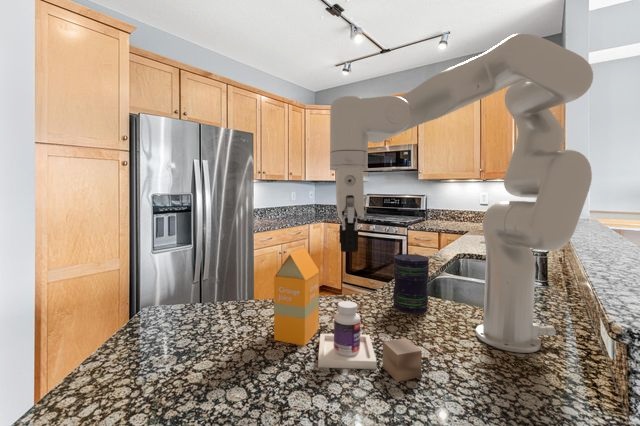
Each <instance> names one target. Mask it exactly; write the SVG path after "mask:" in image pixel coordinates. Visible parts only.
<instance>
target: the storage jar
mask: <svg viewBox="0 0 640 426" xmlns="http://www.w3.org/2000/svg"><path fill="white" fill-rule="evenodd" d="M393 258H394V260H393V261H394V262H393V275H394V276H393V277H394V285H393V286H394V287H393V293H392V298H393V299H392V300H393V304H392V307H393V309H394V310H396V311H398V312H400V313H404V314H408V315H420V314H422V315H423V314H425V313H427V312H428V303H429V290H428V279H429V276H430V275H429V274H430V273H429V272H430V267H429V264H430V263H429V261H430V258H429V257H428V256H425V255H419V254H413V253H412V254H410V253H408V254H407V253H404V254H403V253H401V254H396V255H394V257H393Z"/></svg>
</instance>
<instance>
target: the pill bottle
mask: <svg viewBox="0 0 640 426" xmlns="http://www.w3.org/2000/svg"><path fill="white" fill-rule="evenodd" d="M357 312H358V304H357V302H354V301H349V300H343V301H340V302H338V303H337V312H336V313H335V314H334V318H333V322H334V323H333V334H334V350H335V352H336V353H338V354H339V355H343V356H353V355H356V354H357V353H358V352H359V350H360V335H361V316H360V315H359V314H358V313H357Z"/></svg>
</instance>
